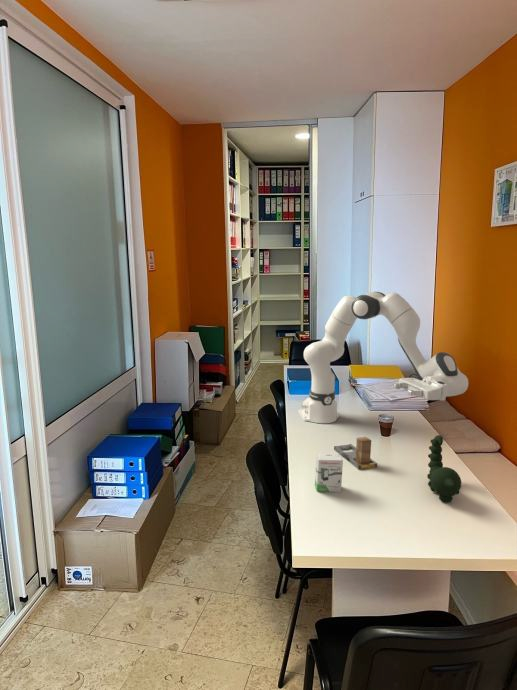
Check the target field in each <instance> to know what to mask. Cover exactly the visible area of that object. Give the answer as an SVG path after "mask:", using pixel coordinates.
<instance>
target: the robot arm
mask: <svg viewBox="0 0 517 690" xmlns="http://www.w3.org/2000/svg"><path fill="white" fill-rule="evenodd" d="M380 315H381V316H383V317H384V318H386V319H387V321H388V323H390V324H391V326H392V327H393V328H394V331H395V333H396V335H397V341H398V343H399V345H400V348H401V349H402V351H403V353H404V355H405V356H406V357H407V359H408V361H409V364H411V366H412V367H413V370H414V372H415V374H416V377H417V378H415V377H401V378H398V383H394V385H393V388H394V389H396V390H400V389H403V390H406V391H408V393H407V394H408V396H416V397H420V398H423V399H426V400H429V401H444V402H445V401H446V398H447V397H454V396H459V395H462V394H464V393H465V392H466V391H467V390H468V387H469V379H468V376H467V375H465V374H464V373H463V372H461V371H460V370H459V369H460V368H459V367H458V366H457V363H456V360H455V358H454V357H453V356H452V355H451V354H450V353H448V352H444V351H439V352H437V354H435V355H433V356H432V357H431V358H430V359H429V360H426V358H425V357H424V355H423V354H422V352H421V351H420V349H419V347H418V345H417V336H418V333H419V331H420V327H421V318H420V316H419V314H418V312H416V311H415V309H414V308H413V307H412V306H411V305H410V303H409V302H408V301H407V300H406V299H405V298H404V297H403V296H402V295H400V294H399V293H397V292H391V293H388V294H385V293H383V292H381V291H372V292H371V291H370V292H367V293H363V294H361V295H358V296H357V297H355V296H353V295H349V294H348V295H345V296H343V297H342V298H341V299H340V300H339V302H338V303H337V304H336V306H335V307H334V309H333V310H332V313H330V316H329V317H328V320H327V322H326V323H325V326H324V331H325V333H324V337H323V338H322V339H321V340H319V341H316V342H315V341H314V342H312V343H310V344H309V345H307V346H306V347H305V348H304V350H303V359H304V361H305V362H306V363H307V365H308V366H309V369H310V374H311V385H310V386H311V387H310V390H309V396H308V397H307V398H306V399H304V400H303V402H302V404H301V408H299V409H298V410H297V413H298V414H299V415H300V417H301V419H302V420H303V421H304V422H311V423H316V424H332V423H334V422H337V419H339V418H340V415H339V414H338V405H337V404H338V402H337V400H336V391H335V385H336V383H335V382H336V381H335V380H336V375H335V374H334V373H333V371H332V370H331V362H335V361H337V360H339V359H340V358H341V357H342V356H343V355H344V352H345V342H346V339H347V337H348V335H349V333H350V331H351V330H352V327H353V326H354V324H355V323H356V321H357V319H360V320H370V319H374V318H376V317H379V316H380Z"/></svg>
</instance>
